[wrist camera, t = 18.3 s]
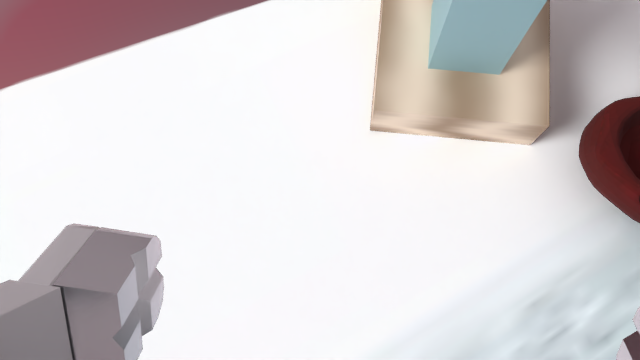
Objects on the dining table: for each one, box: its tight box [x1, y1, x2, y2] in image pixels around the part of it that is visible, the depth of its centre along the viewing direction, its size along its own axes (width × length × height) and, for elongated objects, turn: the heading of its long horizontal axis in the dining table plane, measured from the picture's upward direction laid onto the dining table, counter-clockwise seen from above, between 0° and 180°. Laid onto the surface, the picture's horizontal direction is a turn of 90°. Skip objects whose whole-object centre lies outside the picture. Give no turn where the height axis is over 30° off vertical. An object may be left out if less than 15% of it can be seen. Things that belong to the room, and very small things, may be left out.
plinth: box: [370, 0, 550, 145], centre depth 43 cm, size 12×12×4 cm
